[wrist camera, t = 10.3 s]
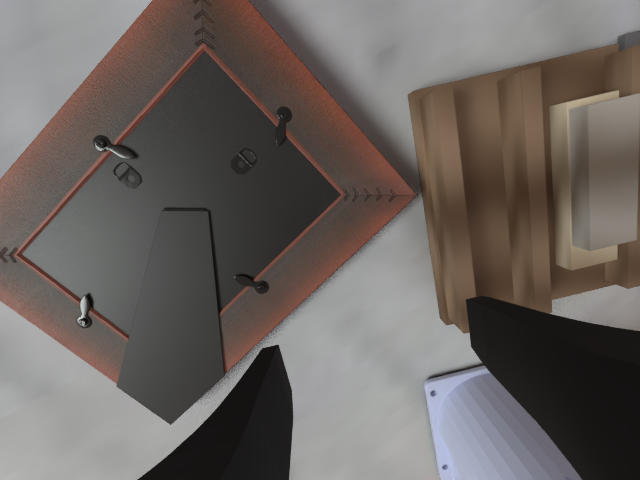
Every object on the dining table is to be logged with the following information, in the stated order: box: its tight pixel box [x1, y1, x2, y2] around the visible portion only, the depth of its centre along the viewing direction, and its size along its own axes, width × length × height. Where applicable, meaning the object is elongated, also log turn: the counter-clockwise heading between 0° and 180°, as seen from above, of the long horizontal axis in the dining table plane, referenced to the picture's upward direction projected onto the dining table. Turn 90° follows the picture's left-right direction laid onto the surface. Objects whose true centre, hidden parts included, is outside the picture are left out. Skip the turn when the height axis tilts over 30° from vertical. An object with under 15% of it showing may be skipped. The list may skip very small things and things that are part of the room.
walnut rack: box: [408, 44, 640, 334], centre depth 19 cm, size 15×12×3 cm
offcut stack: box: [549, 90, 640, 270], centre depth 18 cm, size 10×3×2 cm, turn 13°
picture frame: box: [0, 0, 417, 425], centre depth 19 cm, size 16×2×22 cm
